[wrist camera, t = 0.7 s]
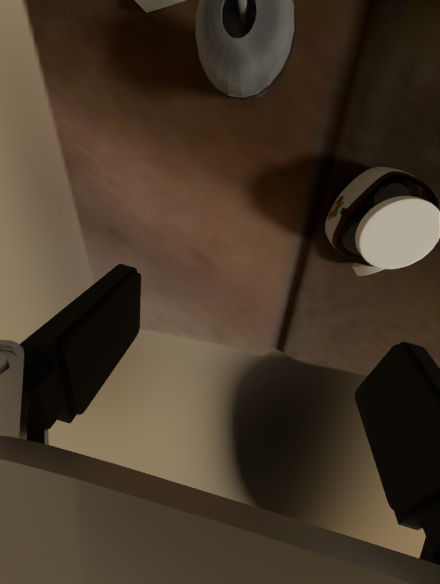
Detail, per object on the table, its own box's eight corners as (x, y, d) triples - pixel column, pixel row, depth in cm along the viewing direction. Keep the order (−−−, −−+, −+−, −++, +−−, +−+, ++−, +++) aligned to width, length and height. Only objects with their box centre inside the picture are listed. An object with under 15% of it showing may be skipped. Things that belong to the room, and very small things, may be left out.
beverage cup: (214, 101, 30) (140, 50, 13) (232, 17, 26) (161, -219, 9) (271, 122, 30) (272, 96, 13) (298, 40, 26) (352, -150, 9)
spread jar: (365, 154, 30) (412, 161, 20) (439, 201, 31) (517, 229, 21) (303, 238, 36) (316, 274, 26) (367, 274, 37) (401, 321, 28)
